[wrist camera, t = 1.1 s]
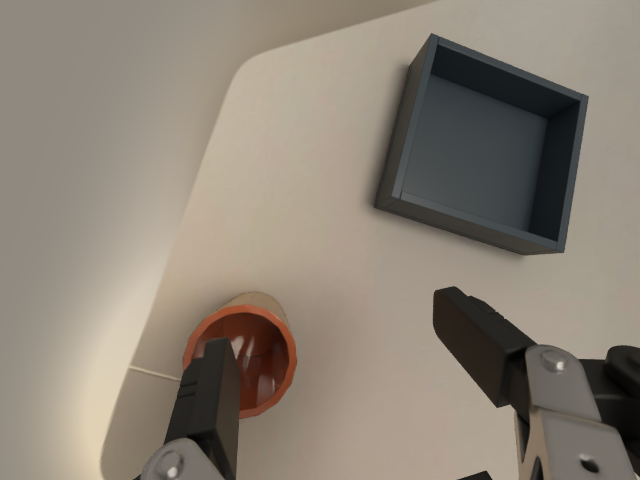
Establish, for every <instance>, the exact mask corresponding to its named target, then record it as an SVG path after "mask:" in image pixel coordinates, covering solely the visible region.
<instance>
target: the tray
mask: <svg viewBox="0 0 640 480" xmlns="http://www.w3.org/2000/svg"><path fill="white" fill-rule="evenodd" d="M588 98H589V96H586V95H584V94H581V93H578V92H576V91H573V90H571V89H568V88H566V87H564V86H561V85H559V84H556V83H554V82H551V81H549V80H546V79H544V78H541V77H539V76H536V75H534V74H531V73H529V72H526V71H524V70H521V69H519V68H517V67H514V66H512V65H509V64H507V63H504V62H502V61H499V60H497V59H494V58H492V57H489V56H487V55H484V54H482V53H479V52H477V51H474V50H472V49H469V48H467V47H465V46H462V45H460V44H457V43H455V42H452V41H450V40H447V39H445V38H442V37H439V36H437V35H435V34H432V33H431V35H430V36H429V38H428V39H427V41H426V42H425V44H424V45H423V47H422V48H421V50H420V51H419V53H418V54H417V55H416V57H415V58H414V60H413V61H412V63H411V64H410V67H409V71H408V75H407V79H406V83H405V87H404V91H403V95H402V99H401V102H400V106H399V110H398V114H397V118H396V122H395V126H394V130H393V134H392V138H391V142H390V145H389V149H388V153H387V157H386V161H385V165H384V169H383V173H382V177H381V181H380V184H379V188H378V192H377V196H376V200H375V204H374V207H375V208H378V209H381V210H384V211H387V212H390V213H393V214H397V215H400V216H403V217H406V218H409V219H412V220H415V221H419V222H422V223H425V224H428V225H431V226H434V227H437V228H441V229H444V230H447V231H450V232H453V233H456V234H459V235H462V236H466V237H469V238H472V239H475V240H478V241H481V242H484V243H488V244H491V245H494V246H497V247H500V248H503V249H506V250H510V251H513V252H516V253H519V254H522V255H538V254H553V253H564V250H565V244H566V237H567V231H568V225H569V218H570V212H571V206H572V199H573V193H574V187H575V180H576V174H577V168H578V161H579V155H580V149H581V142H582V136H583V130H584V123H585V117H586V111H587V104H588Z"/></svg>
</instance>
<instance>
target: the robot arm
mask: <svg viewBox="0 0 640 480" xmlns="http://www.w3.org/2000/svg"><path fill="white" fill-rule="evenodd" d="M433 327H434V330H435V332H436V335H437V336H438V338H439V339H440V340H441V341H442V343H443V344H444V345H445V346H446V347H447V349H448V350H449V351H450V352H451V353H452V355H453V356H454V357H455V358H456V359H457V361H458V362H459V363H460V364H461V365H462V367H463V368H464V369H465V370H466V371H467V373H468V374H469V375H470V376H471V377H472V379H473V380H474V381H475V382H476V383H477V385H478V386H479V387H480V388H481V389H482V391H483V392H484V393H485V394H486V395H487V397H488V398H489V399H490V400H491V401H492V403H493V404H494V405H495V406H496V407H497V408H499V407H503V406H506V405H509V404H510V405H511V406H512V407H513V408H514V409H515V413H514V422H515V434H516V445H517V457H518V469H519V480H637V478H636V475H635V473H636V474H637V475H638V476H639V477H640V348H637V347H632V346H624V345H621V346H614V347H612V348H610V349H609V350H608V353H607V356H606V359H605V360H597V359H577V358H576V357H575V356H573V355H572V354H570V353H569V352H567V351H565V350H563V349H560V348H558V347H555V346H550V345H541V344H540V345H538V344H537V343H535V342H534V341H533V340H532V339H530V338H529V337H528V336H527V335H525V334H524V333H523V332H522V331H520V330H519V329H518V328H517V327H515V326H514V325H513V324H512V323H510V322H509V321H508V320H507V319H504V317H503V316H502V315H500V314H499V313H498V312H495V310H494V309H493V308H492V307H490V306H489V305H488V304H487V303H485V302H484V301H482V300H479V299H477V298H475V297H473V296H467V295H465V294H464V293H463V292H462V291H461V290H459V289H458V288H457V287H455V286H453V287H448V288H444V289H439V290H436V291H435V292H434V298H433ZM240 390H241V380H240V372H239V368H238V364H237V361H236V358H235V354H234V351H233V348H232V344H231V341H230V338H229V337H228V336H227V337H223V338H219V339H214V340H210V341H207V342H206V345H205V349H204V354H203V357H201V358H197V359H193V360H192V361H191V363H190V364H189V366H188V367H187V368H186V370H185V371H184V373H183V376H182V380H181V384H180V388H179V391H178V394H177V399H176V401H175V405H174V409H173V412H172V416H171V419H170V423H169V427H168V430H167V434H166V437H165V441H164V444H163V446H162V447H161V448H159V449H158V450H157V451H156V452H155V453H154V454H153V455H152V456H151V457H150V459H149V460H148V462H147V463H146V465H145V466H144V469H143V471H142V474H140V475H139V476H138V477H136V478H135V479H133V480H236V467H237V448H238V429H239V409H240ZM634 472H635V473H634ZM458 480H492V478H491V477H490V475H489V474H488V472H487V471H483V472H480V473H477V474H474V475H471V476H468V477H465V478H461V479H458Z"/></svg>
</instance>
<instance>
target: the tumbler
mask: <svg viewBox="0 0 640 480" xmlns="http://www.w3.org/2000/svg"><path fill="white" fill-rule="evenodd" d="M227 336H228V337H229V338H230V341H231V344H232V348H233V351H234V354H235V358H236V361H237V364H238V368H239V372H240V380H241V390H240V409H239V419H243V418H248V417H253V416H257V415H260V414H261V413H263V412H264V411H266V410H267V409H269V408H270V407H272V406H274V405H275V404H277V402H279V400H280V399H281V398H282V396H283V395H284V393H285V392H286V391H287V389H288V388H289V387H290V385H291V383H292V380H293V376H294V372H295V369H296V365H297V357H296V348H295V341H294V338H293V335H292V332H291V329H290V326H289V323H288V320H287V318H286V315H285V313H284V311H283V309H282V307H281V305H280V304H279V302H277V301H276V300H275V299H274V298H273V297H271V296H270V295H267V294H264V293H261V292H248V293H243V294H241V295H239V296H237V297H236V298H234V299H232V300H230V301H229V302H228V303H226V304H225V305H223V306H222V307H221V308H219V309H218V310H216V311H215V312H213V313H212V314H211V315H209V316H208V317H206V318H205V319H204V320H203V321H202V322H201V324H200V325H199V326H198V327H197V328H196V330H195V331H194V332H193V333H192V335H191V336H190V338H189V341H188V344H187V347H186V350H185V353H184V356H183V370H184V371H185V370H186V368H187V367H188V366H189V364H190V363H191V361H192V360H193V359H197V358H201V357H203V354H204V349H205V345H206V342H207V341H210V340H214V339H219V338H223V337H227Z"/></svg>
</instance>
